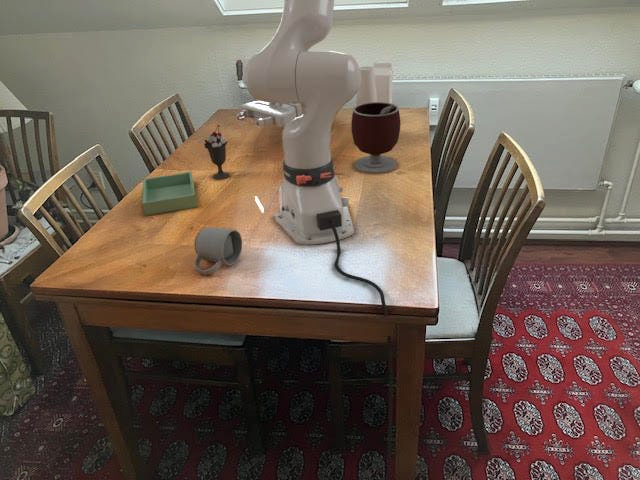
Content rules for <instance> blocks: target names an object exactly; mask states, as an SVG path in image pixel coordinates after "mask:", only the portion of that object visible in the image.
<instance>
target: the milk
mask: <svg viewBox="0 0 640 480" xmlns="http://www.w3.org/2000/svg"><path fill="white" fill-rule="evenodd" d="M373 67H374V73H375V84H376V95H377V102H386V103H391V104H393V69H392V63H391V62H374V63H373Z"/></svg>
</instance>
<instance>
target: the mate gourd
mask: <svg viewBox="0 0 640 480" xmlns="http://www.w3.org/2000/svg"><path fill="white" fill-rule="evenodd" d="M400 134H401V115H400V107H399V106H398V105H397V104H395V103H392V104H391V103H386V102H370V103H364V104H360V105H355V106H354V107H353V108H352V115H351V135H352V140H353V144H354V145H355V146H356V147H357V149H358V150H359V151H360V152H361V153H364V154H368V155H367V156H363V157H361V158H360V157H359V158H358V159H357V160H356V161H355V163H354V167H355V169H356V170H357V171H359V172H362V173H366V174H373V175H374V174H375V175H377V174H385V173H389V172H392V171H394V170H395V169H396V168H397V161H396V160H395V159H394V158H393V157H390V156H387V155H383V154H387V153H389V152H391V151H392V150H393V149H395V146H397V144H398V141H399V138H400Z"/></svg>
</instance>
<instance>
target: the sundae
mask: <svg viewBox="0 0 640 480" xmlns="http://www.w3.org/2000/svg"><path fill="white" fill-rule="evenodd" d="M220 126H221V125H220V124H218V125H217V127H216V129H215V131H212V134H209V136H208V137H207V139H206V138H205V139H204V146H203V147H204V148H205V149H207V151H208V155H209V159H210V160H211V163H212V164H214V165H215V166H217V172H216V173H214V174H213V175H212V178H213V179H214V180H224V179H228V178H229V177H230V173H229V172H226V171H224V170H223V166H222V165H224V164H225V162H226V158H227V157H226V156H227V154H226V153H227V152H226V149H227V147H226V145H227V144H228V143H229V142H228V141H226V139H225V138H224V136H222V133H221V132H220ZM217 130H218V132H216V131H217Z"/></svg>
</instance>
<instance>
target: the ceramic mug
mask: <svg viewBox="0 0 640 480" xmlns="http://www.w3.org/2000/svg"><path fill="white" fill-rule="evenodd" d="M242 250H243V239H242V235H241V233H240V232H239V231H238V229H234V228H223V227H215V226H214V227H213V226H209V227H208V226H207V227H203V228H201V229H200V230H199V231H198V233H197V234H196V236H195V239H194V251H195V253H196V255H197V256H196V258H195V259H194V267H195V269H196V271H197V272H198V273H199V274H201V275H204V276H209V275H213V274H215V273H216V272H217V271H218V270H219V269H220V268H221V267H222V265H223V266H224V265H225V266H233V265H234V264H236V263H237V262H238V261H239V259H240V257H241V254H242ZM202 260H204V261H209V262H214V265H212V266H211V267H209V268H208V269H204V270H203V269H202V268H201V267H200V264H201V261H202Z"/></svg>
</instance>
